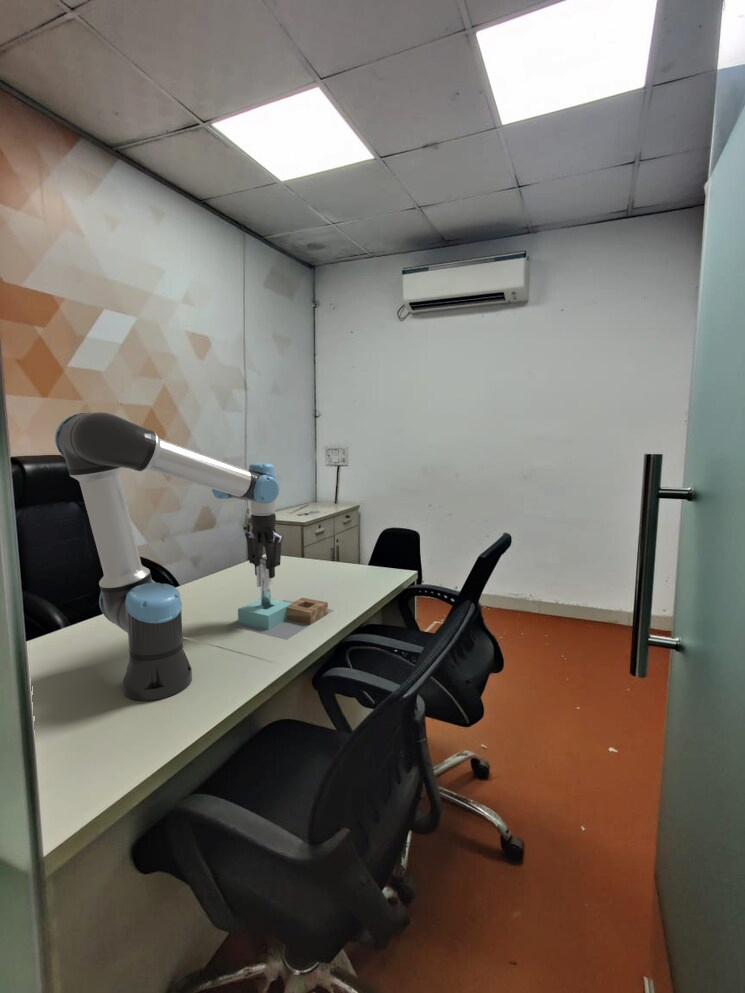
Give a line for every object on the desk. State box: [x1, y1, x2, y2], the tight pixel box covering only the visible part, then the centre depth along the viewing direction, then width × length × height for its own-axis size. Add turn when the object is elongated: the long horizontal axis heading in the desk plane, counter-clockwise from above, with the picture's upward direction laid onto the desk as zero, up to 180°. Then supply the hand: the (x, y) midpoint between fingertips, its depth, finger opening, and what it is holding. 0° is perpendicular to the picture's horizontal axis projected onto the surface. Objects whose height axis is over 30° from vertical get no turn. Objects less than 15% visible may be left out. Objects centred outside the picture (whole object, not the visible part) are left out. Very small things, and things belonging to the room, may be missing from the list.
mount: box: [287, 597, 329, 626], centre depth 156 cm, size 10×10×4 cm
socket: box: [237, 598, 292, 630], centre depth 153 cm, size 12×12×4 cm
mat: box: [231, 599, 335, 640], centre depth 155 cm, size 26×21×1 cm
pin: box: [260, 556, 272, 606], centre depth 152 cm, size 3×3×15 cm
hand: (265, 586), depth 152 cm, fingers closed on pin, 3 cm apart
